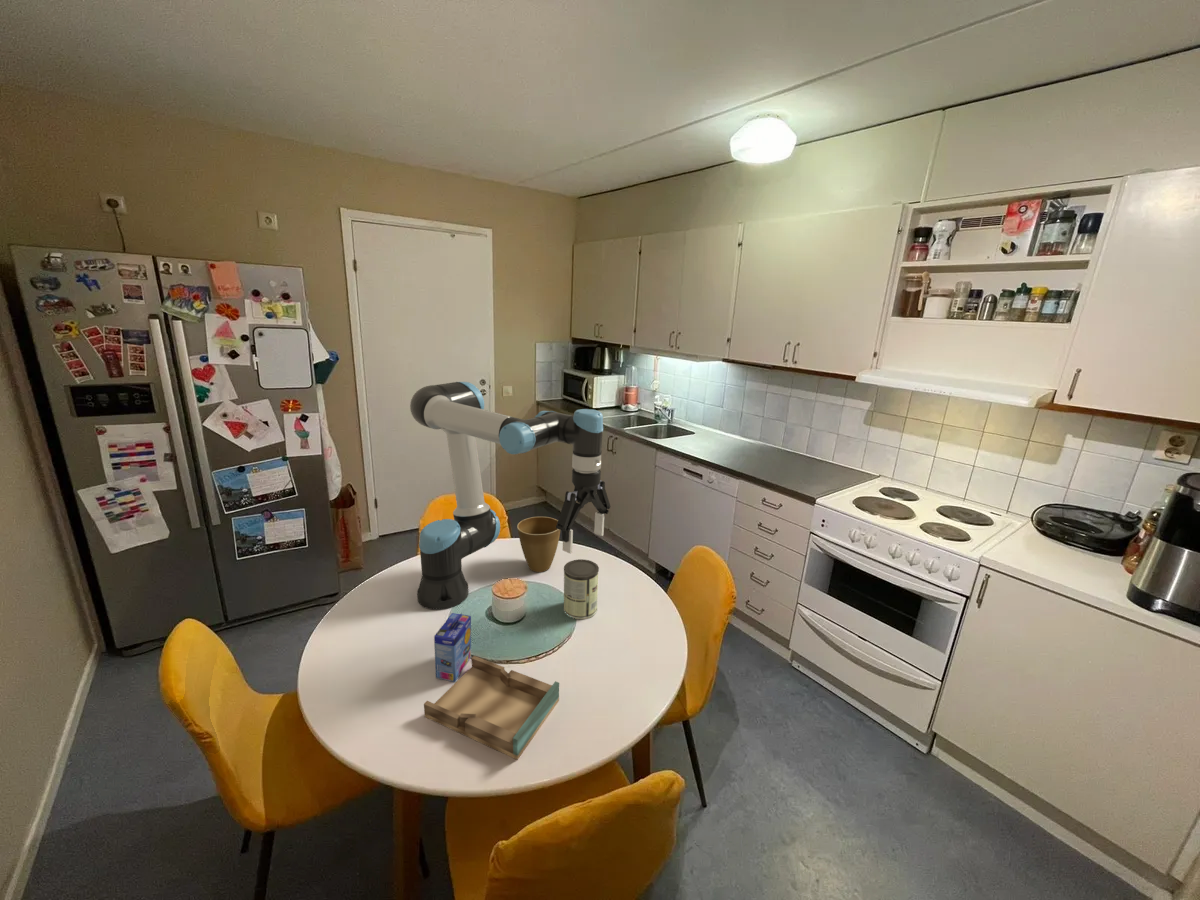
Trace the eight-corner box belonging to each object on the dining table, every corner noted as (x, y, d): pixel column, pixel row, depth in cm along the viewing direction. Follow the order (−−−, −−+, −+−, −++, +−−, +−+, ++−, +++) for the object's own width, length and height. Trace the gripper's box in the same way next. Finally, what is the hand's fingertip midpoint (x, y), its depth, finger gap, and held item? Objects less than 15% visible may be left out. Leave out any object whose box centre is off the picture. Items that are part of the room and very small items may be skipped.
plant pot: (564, 558, 175) (564, 517, 171) (555, 579, 161) (556, 536, 156) (524, 554, 177) (523, 514, 172) (512, 575, 162) (511, 532, 158)
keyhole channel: (424, 716, 105) (423, 698, 104) (474, 667, 120) (473, 650, 119) (517, 759, 96) (517, 739, 95) (559, 700, 111) (559, 682, 110)
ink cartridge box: (456, 683, 115) (453, 631, 111) (434, 679, 116) (431, 628, 112) (473, 655, 124) (471, 606, 120) (453, 652, 125) (450, 603, 121)
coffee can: (566, 598, 151) (566, 557, 147) (598, 601, 150) (600, 560, 146) (560, 618, 141) (560, 575, 137) (595, 621, 140) (596, 578, 136)
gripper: (565, 484, 114) (563, 564, 120) (625, 461, 133) (621, 531, 139) (542, 477, 118) (541, 554, 124) (603, 456, 137) (600, 524, 143)
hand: (583, 542), depth 132 cm, fingers open, 13 cm apart
